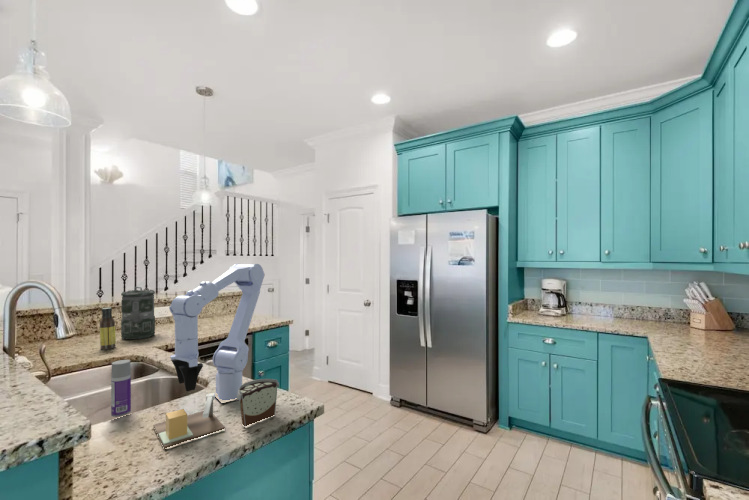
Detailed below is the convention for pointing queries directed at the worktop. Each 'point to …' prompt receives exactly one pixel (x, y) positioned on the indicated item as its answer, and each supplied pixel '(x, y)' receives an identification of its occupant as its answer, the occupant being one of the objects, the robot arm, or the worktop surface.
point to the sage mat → (166, 439)
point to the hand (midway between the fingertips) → (186, 386)
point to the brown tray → (195, 426)
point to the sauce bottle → (107, 329)
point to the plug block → (176, 424)
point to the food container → (257, 400)
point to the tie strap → (208, 404)
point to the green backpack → (137, 314)
